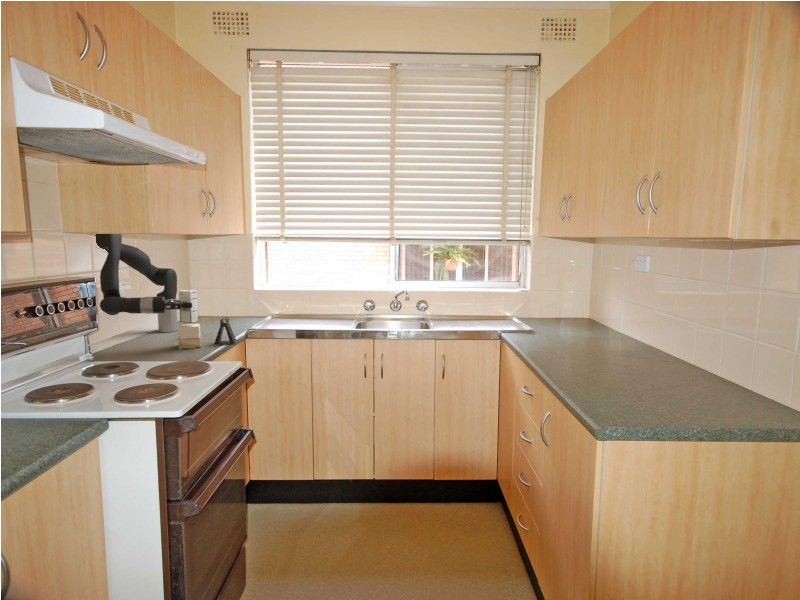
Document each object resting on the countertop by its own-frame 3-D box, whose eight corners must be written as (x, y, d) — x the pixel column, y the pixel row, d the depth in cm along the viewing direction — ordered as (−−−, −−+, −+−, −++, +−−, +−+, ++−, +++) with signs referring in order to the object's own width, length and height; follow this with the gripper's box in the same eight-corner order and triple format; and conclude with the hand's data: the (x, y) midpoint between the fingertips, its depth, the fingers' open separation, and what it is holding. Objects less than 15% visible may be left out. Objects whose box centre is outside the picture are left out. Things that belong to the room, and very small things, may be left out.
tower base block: (181, 345, 223) (180, 334, 223) (202, 344, 226) (201, 333, 226) (178, 349, 215) (178, 338, 214) (200, 348, 218) (200, 337, 217)
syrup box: (198, 320, 221) (197, 289, 220) (191, 323, 215) (190, 290, 214) (186, 320, 222) (185, 289, 220) (179, 322, 216) (178, 290, 214)
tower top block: (181, 335, 222) (181, 324, 222) (200, 334, 225) (199, 323, 224) (180, 338, 215) (179, 327, 214) (199, 337, 218) (198, 326, 217)
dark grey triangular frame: (214, 344, 224) (213, 319, 223) (216, 341, 230) (215, 317, 228) (234, 344, 226) (233, 318, 224) (236, 341, 231) (235, 316, 230)
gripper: (149, 298, 206) (191, 297, 211) (155, 294, 220) (194, 294, 225) (150, 315, 207) (191, 314, 212) (156, 311, 221) (194, 310, 226)
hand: (193, 304), depth 218 cm, fingers closed on syrup box, 7 cm apart
